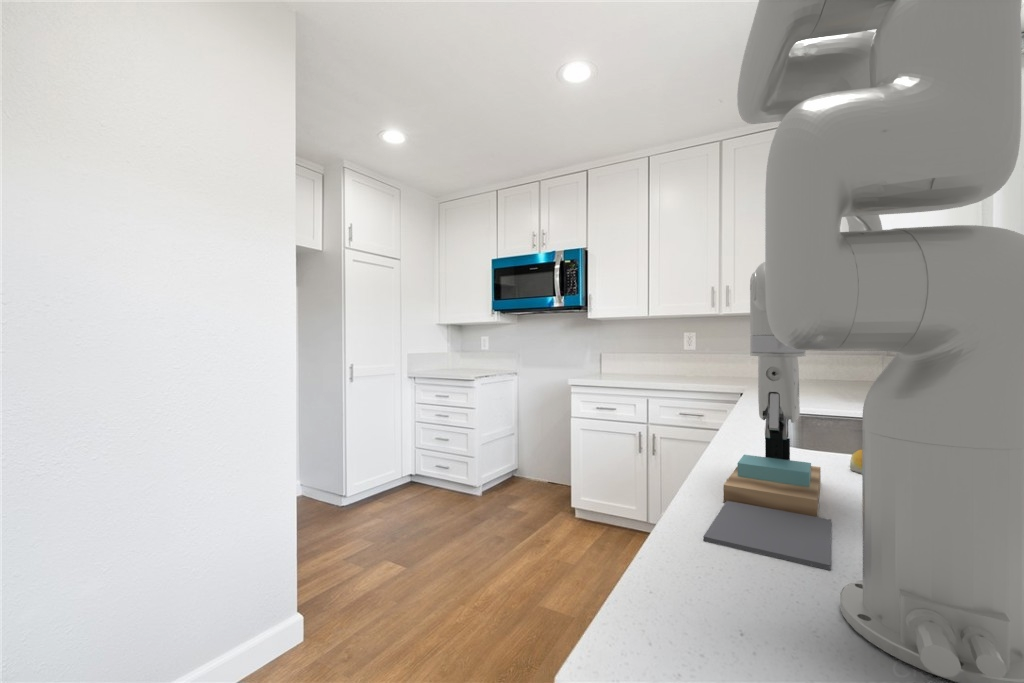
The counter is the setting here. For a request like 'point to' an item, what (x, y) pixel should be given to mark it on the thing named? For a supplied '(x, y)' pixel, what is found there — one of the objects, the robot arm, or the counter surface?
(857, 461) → the bread roll
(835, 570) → the counter surface
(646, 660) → the counter surface
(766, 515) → the charcoal mat
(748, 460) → the teal tile
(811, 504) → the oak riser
